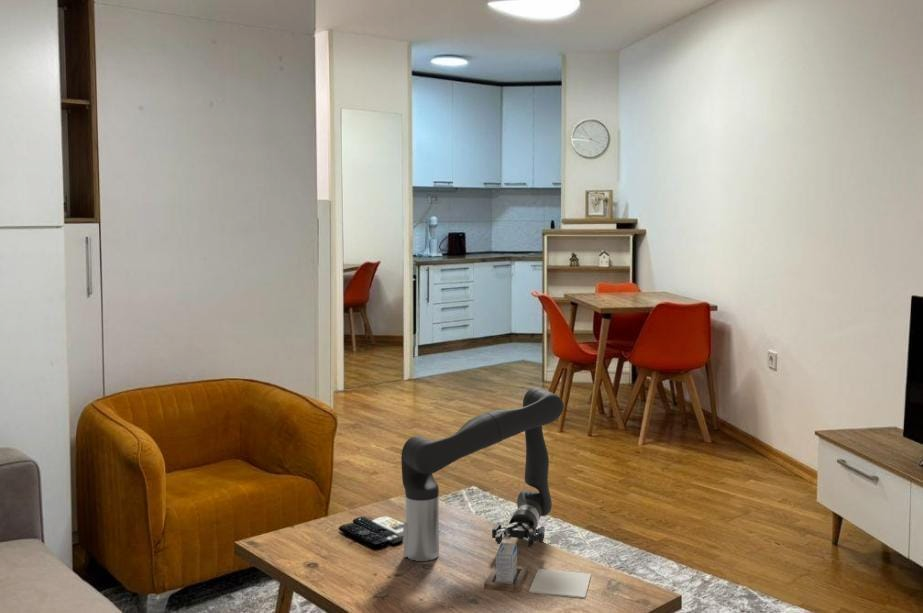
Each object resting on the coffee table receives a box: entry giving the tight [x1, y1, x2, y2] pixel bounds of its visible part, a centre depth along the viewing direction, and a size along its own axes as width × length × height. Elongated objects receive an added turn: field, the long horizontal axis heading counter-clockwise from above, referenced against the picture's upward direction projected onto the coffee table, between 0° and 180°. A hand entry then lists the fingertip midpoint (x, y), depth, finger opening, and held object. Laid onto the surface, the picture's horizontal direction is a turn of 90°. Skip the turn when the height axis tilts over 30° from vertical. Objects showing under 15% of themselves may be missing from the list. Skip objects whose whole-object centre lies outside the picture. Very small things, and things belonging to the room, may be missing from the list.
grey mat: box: [528, 568, 592, 599], centre depth 223 cm, size 14×14×1 cm
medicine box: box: [495, 541, 518, 584], centre depth 225 cm, size 8×4×9 cm, turn 168°
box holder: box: [483, 563, 529, 593], centre depth 226 cm, size 9×13×1 cm
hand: (513, 542), depth 234 cm, fingers open, 8 cm apart
